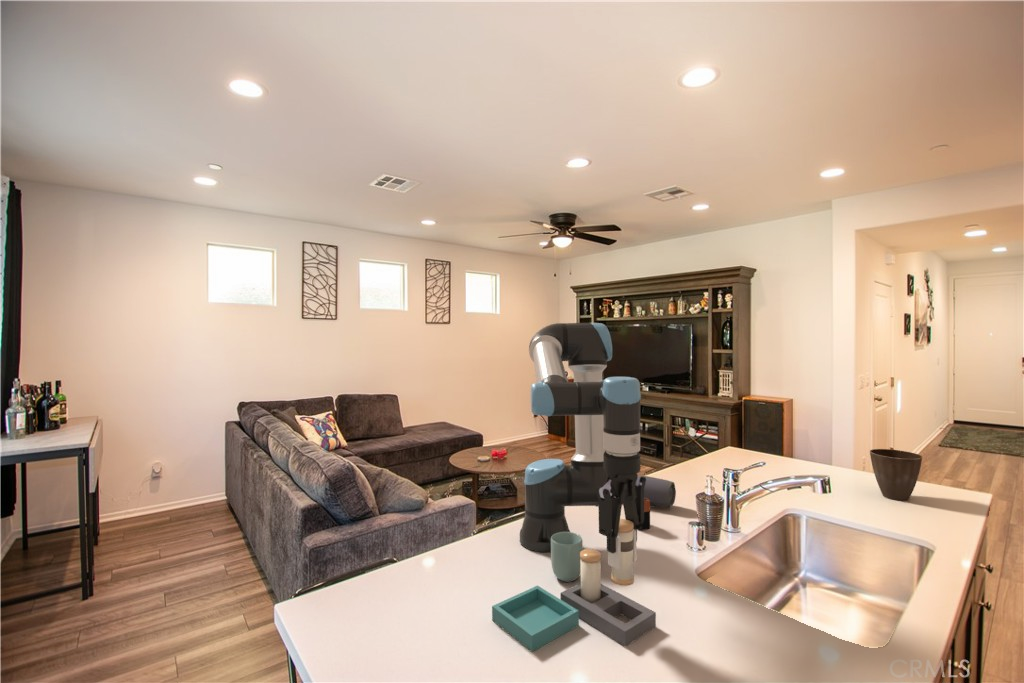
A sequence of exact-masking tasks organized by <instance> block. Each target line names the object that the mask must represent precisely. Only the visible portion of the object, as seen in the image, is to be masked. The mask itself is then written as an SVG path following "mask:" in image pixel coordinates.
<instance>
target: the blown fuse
mask: <svg viewBox="0 0 1024 683" xmlns="http://www.w3.org/2000/svg"><path fill="white" fill-rule="evenodd" d="M633 530H634V524H633V522H631V521H629V520H626V519H625V518H620V522H619V530H618V536H619V537H621V569H619V570H618V569H616V568H614V567H612V566H611V573H610V580H611V581H612V583H614V584H616V585H617V586H623V587H624V586H625V587H627V586H631V585H633V583H634V582H635V581H634V579H635V578H634V577H635V576H634V561H633ZM612 531H613V530H612Z"/></svg>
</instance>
